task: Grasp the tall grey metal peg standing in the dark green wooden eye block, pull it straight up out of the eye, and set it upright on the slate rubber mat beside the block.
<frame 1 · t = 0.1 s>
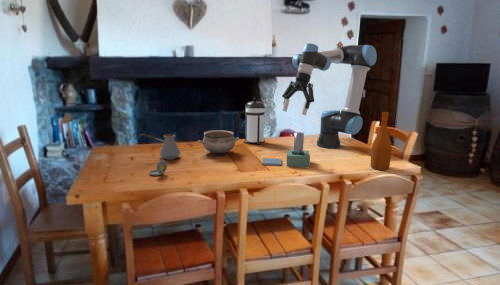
hand: (293, 112, 191), 28 cm above the table, tool tilted 20°, fingers open, 13 cm apart
wine bottle: (379, 168, 193), on the table
coffee press: (252, 142, 243), on the table
cooking pot: (218, 153, 216), on the table
coffee pot: (161, 158, 204), on the table
pocket watch: (158, 174, 177), on the table
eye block: (297, 163, 198), on the table
slate mat: (271, 162, 199), on the table
metal peg: (298, 148, 196), in the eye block
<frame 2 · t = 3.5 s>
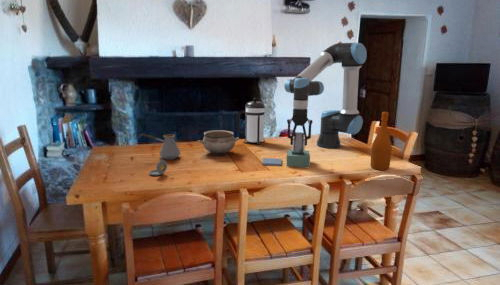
hand: (298, 150, 196), 7 cm above the table, tool pointing down, fingers closed on metal peg, 5 cm apart
metal peg: (298, 148, 196), in the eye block, touching gripper
everything else where it was.
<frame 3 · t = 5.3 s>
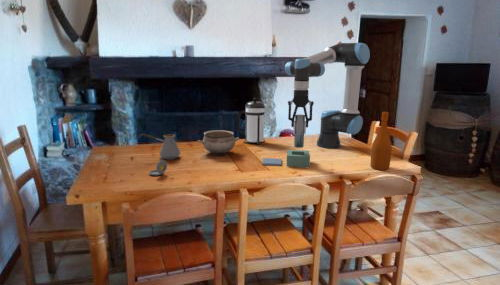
hand: (299, 133, 194), 17 cm above the table, tool pointing down, fingers closed on metal peg, 5 cm apart
metal peg: (299, 131, 193), point 18 cm above the table, touching gripper
everything else where it was.
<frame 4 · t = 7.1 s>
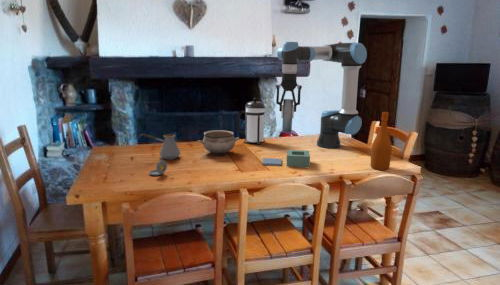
hand: (287, 117, 192), 25 cm above the table, tool pointing down, fingers closed on metal peg, 5 cm apart
metal peg: (287, 115, 192), point 26 cm above the table, touching gripper
everything else where it was.
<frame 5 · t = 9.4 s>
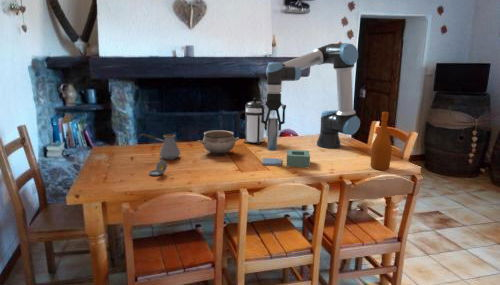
hand: (272, 136, 195), 15 cm above the table, tool pointing down, fingers closed on metal peg, 5 cm apart
metal peg: (272, 134, 195), point 16 cm above the table, touching gripper
everything else where it was.
when the fingers open (10 cm above the table, at t = 11.1 s): metal peg drops 1 cm, resting on slate mat.
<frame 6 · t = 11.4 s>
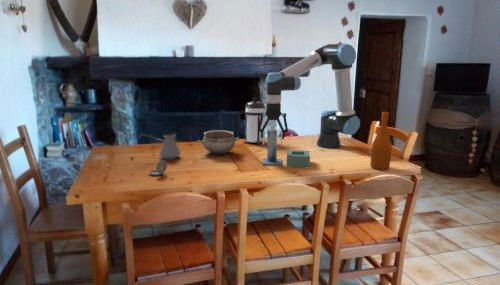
hand: (272, 144, 197), 10 cm above the table, tool pointing down, fingers open, 9 cm apart
metal peg: (272, 145, 197), on the slate mat, point 10 cm above the table
everything else where it was.
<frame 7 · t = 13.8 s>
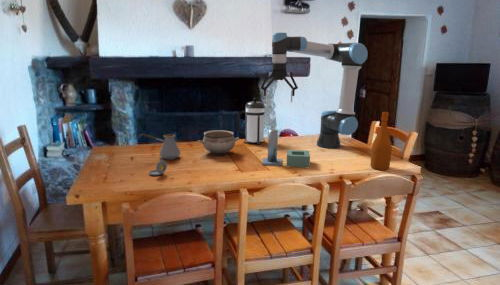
hand: (279, 102, 201), 32 cm above the table, tool pointing down, fingers open, 13 cm apart
nothing on the table moved.
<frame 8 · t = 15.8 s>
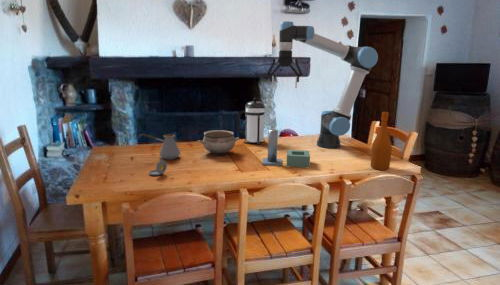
hand: (284, 87, 212), 39 cm above the table, tool pointing down, fingers open, 13 cm apart
nothing on the table moved.
at the end: metal peg 0.0 cm off-centre on the slate mat, point 9.5 cm above the slate mat's base; metal peg tilted 1°; the gripper is holding nothing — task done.
